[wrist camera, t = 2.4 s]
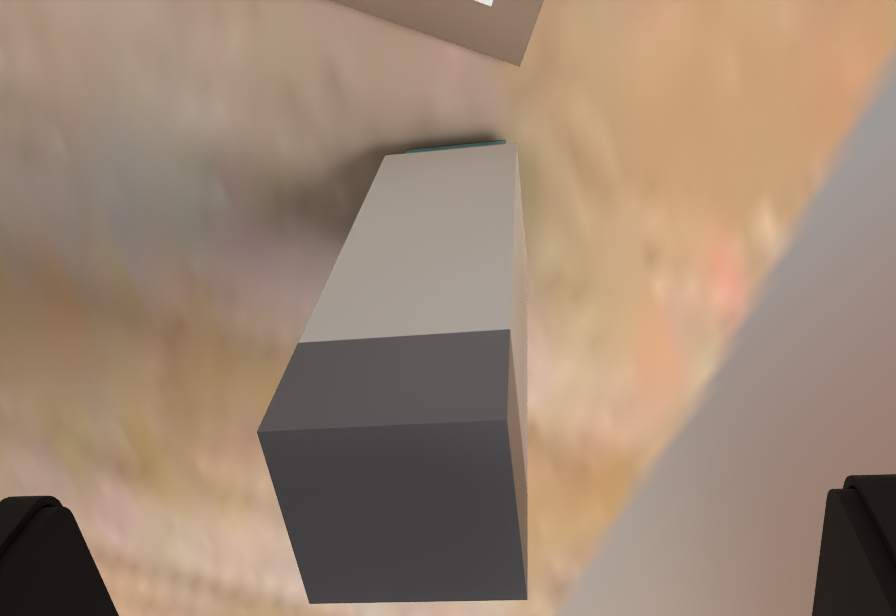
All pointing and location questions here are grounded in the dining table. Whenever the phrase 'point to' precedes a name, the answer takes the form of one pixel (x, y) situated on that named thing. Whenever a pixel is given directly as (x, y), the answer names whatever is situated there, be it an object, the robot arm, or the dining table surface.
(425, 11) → the board
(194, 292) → the dining table surface
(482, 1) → the paper
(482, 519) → the grey square bar
